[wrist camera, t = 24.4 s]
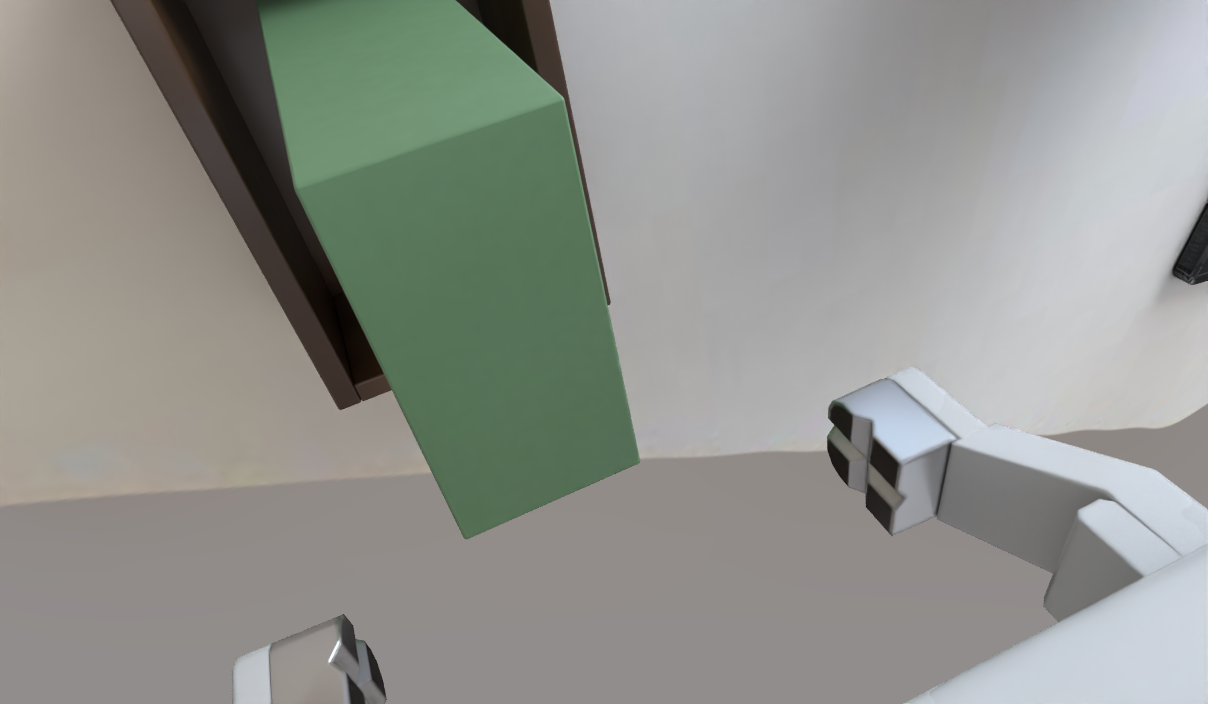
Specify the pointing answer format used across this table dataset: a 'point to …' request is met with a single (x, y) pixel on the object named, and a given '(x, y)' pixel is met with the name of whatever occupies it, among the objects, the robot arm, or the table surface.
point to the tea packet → (456, 243)
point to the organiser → (260, 163)
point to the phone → (1195, 255)
